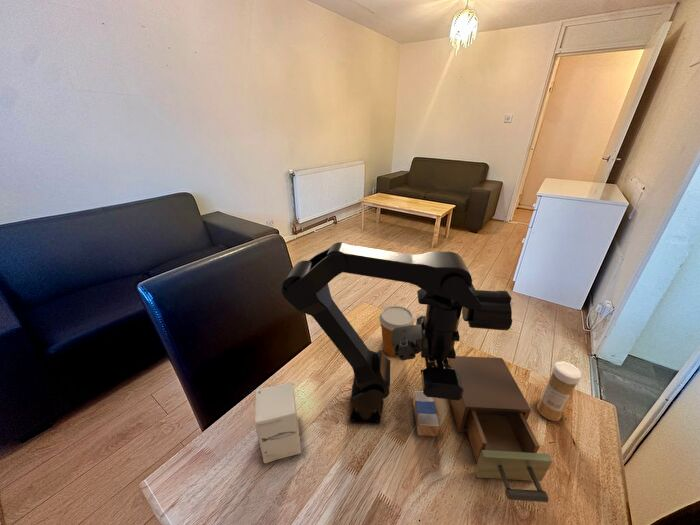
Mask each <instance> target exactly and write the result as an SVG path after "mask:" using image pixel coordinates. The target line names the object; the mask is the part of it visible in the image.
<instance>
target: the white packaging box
mask: <svg viewBox="0 0 700 525" xmlns="http://www.w3.org/2000/svg"><path fill="white" fill-rule="evenodd" d="M295 394H296V393H295V387H294V381H289V382H283V383H280V384H276V385H271V386H266V387H261V388H256V389H255V390H254V425H255V429H256V435H257V438H258V444H259V447H260V452H261V456H262V457H261V458H262V460H263V464H267V463H268V464H269V463H271V462H273V461H277V460H281V459H285V458H289V457H292V456H296V455H299V454H302V446H301V439H300V438H301V437H300V428H299V420H298V412H297V405H296V404H297V402H296V395H295Z"/></svg>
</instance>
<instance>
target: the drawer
mask: <svg viewBox="0 0 700 525" xmlns="http://www.w3.org/2000/svg"><path fill="white" fill-rule="evenodd" d="M465 427H466V430H467V432H466V433H467V436H468V440H469V442H470V446H471V449H472V452H473V455H474V458H475V462H477V463H476V465H475V467H474V472H475V476H476V478H484V479H485V478H487V479H499V480H500V479H501V480H502V482H503V485H504V487H505V489H504V490H505V496H506V499H507V500H509V501H521V502H522V501H523V502H537V503H549V496H548V493H547V492H546V491H545V490H543V489H542V486H541V484H540V482H543V480H544V478H545V476H546V474H547V472H548V471H549V469H550V467H551V465H552V463H553V459H552V457H551V455H550V453H540V452H539V449H540V448H541V445H540V443H539V442H538V439H537V438H536V436H535V434H534V432H533V430H532V429H531V426H530V423H529V422H528V419H527V420H526V419H525V417H524V415H523V413H522V412H509V411H490V410H471V409H469V411H468V415H467V418H466V422H465ZM509 480H517V481H518V480H519V481H531V482H533V484H534V486H535V489H536V490H534V489H533V490H532V489H522V488H521V489H520V488H519V489H518V488H511V485H510V482H509Z"/></svg>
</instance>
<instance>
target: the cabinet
mask: <svg viewBox="0 0 700 525" xmlns="http://www.w3.org/2000/svg"><path fill="white" fill-rule="evenodd" d="M448 363H449V366H451V367H453V369H455V370H456V371H457V372H458V373H459V374H460V378H461V382H462V385H463V389H464V391H463V395H462V398H461V399H460V400H459V401H458V400H450V399H449V402H450V407H451V409H452V412H453V417H454V420H455V424H456V428H457V430H458V432H459V433H467V430H466V427H465V422H466V418H467V415H468V411H469V409H471V410H490V411H509V412H522V413H523V415H524V417H525V419H526V420H527V421H528V418H529V416H530V414H531V412H532V409H531V407H530V405H529V403H528V401H527V400H526V398H525V396H524V394H523V392H522V391H521V389H520V387H519V385H518V384H517V382H516V380H515V378H514V376H513V374H512V373H511V371H510V369H509V367H508V365H507V364H506V362H505V360H504V358H503V357H491V356H489V357H488V356H487V357H486V356H468V355H467V356H464V355H456V357H455V359H451V358H448Z"/></svg>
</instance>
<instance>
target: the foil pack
mask: <svg viewBox="0 0 700 525" xmlns="http://www.w3.org/2000/svg"><path fill="white" fill-rule="evenodd" d="M412 405H413V412H414V420H415V425H416V432H417V436H427V437H438V434H439V431H440V422H439V417H438V412H437V407H436V402H435V398H432V397H426V396H425V395H424V394H423V390H422V391H421V390H419V391H418V390H414V391H413V397H412Z"/></svg>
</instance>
